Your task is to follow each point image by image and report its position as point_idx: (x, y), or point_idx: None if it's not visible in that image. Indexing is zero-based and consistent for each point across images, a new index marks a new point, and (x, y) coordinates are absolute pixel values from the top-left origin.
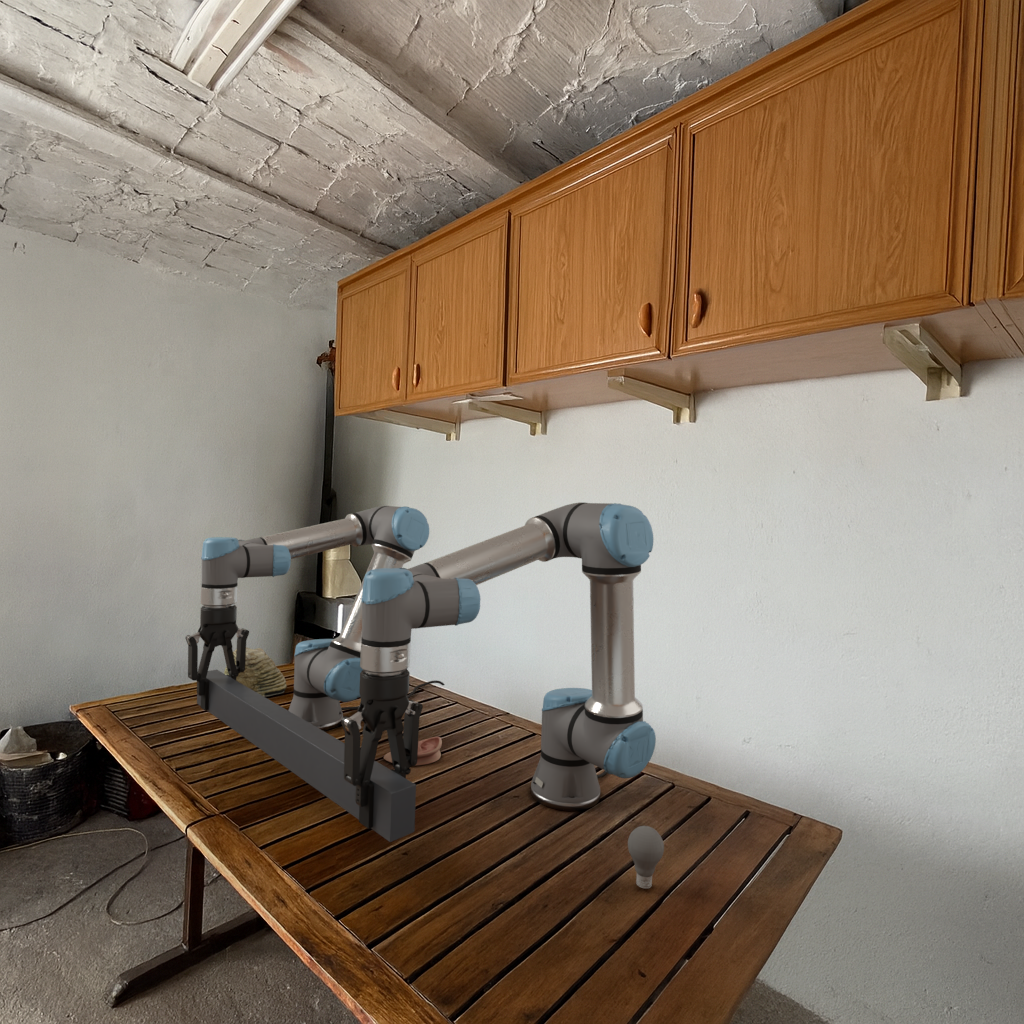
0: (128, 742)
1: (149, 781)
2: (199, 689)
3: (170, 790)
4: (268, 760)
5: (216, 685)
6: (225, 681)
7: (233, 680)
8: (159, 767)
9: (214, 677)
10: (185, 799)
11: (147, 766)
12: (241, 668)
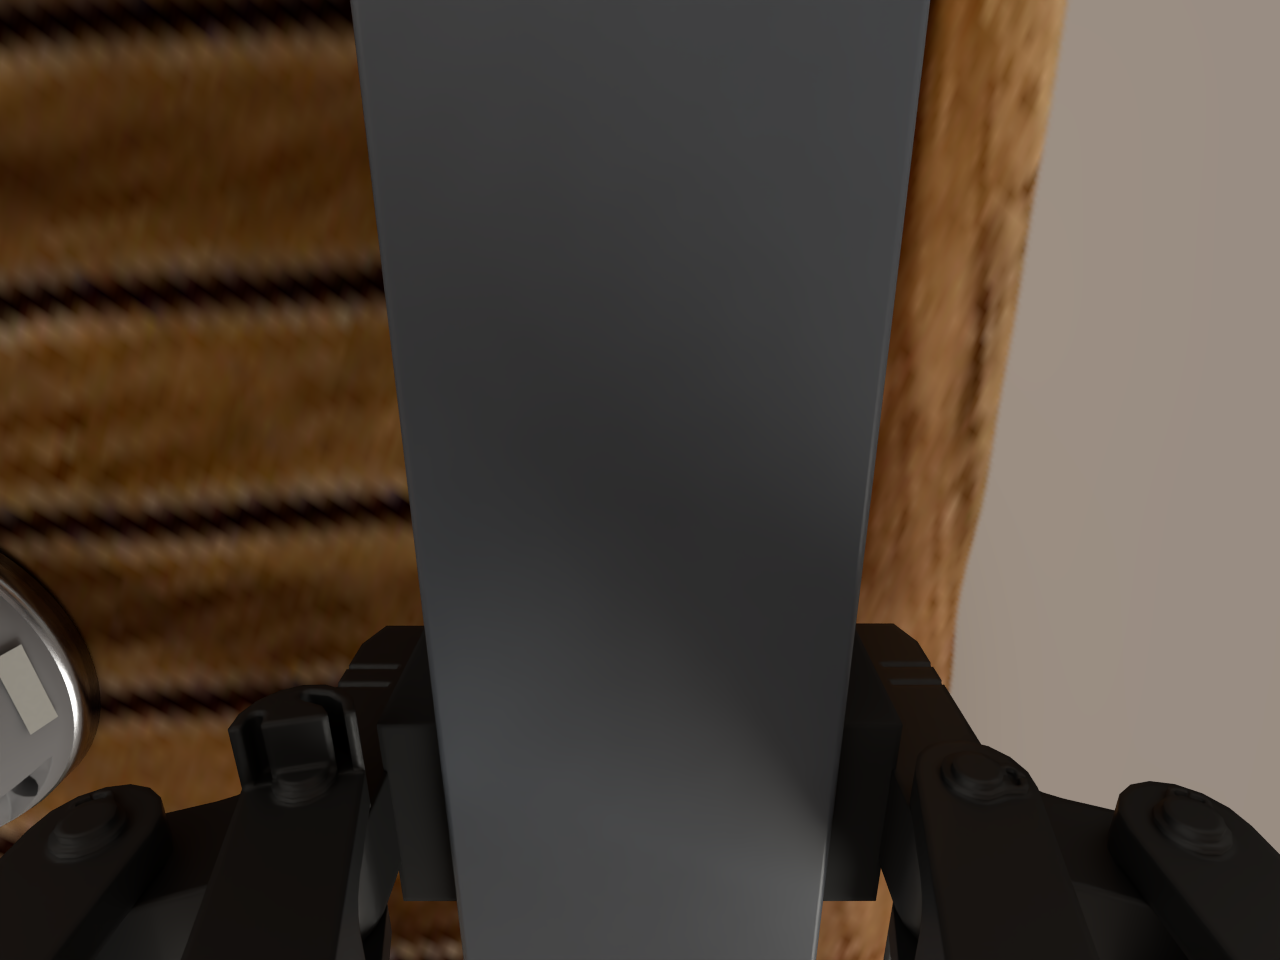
0: (846, 923)
1: (979, 432)
2: (934, 682)
3: (954, 235)
4: (335, 288)
5: (887, 336)
6: (628, 455)
7: (449, 418)
8: (863, 574)
9: (696, 827)
10: (952, 37)
11: (901, 621)
12: (93, 858)
